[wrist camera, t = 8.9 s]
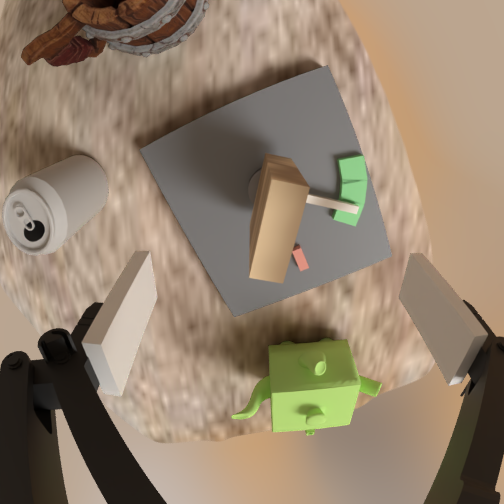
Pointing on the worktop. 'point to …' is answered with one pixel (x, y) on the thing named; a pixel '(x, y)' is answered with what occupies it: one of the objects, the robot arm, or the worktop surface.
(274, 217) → the peg key
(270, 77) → the worktop surface
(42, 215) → the can
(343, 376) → the kettle
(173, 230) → the worktop surface
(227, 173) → the board
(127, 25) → the mug
